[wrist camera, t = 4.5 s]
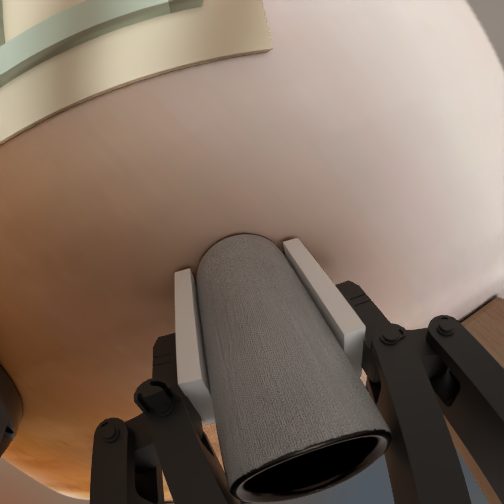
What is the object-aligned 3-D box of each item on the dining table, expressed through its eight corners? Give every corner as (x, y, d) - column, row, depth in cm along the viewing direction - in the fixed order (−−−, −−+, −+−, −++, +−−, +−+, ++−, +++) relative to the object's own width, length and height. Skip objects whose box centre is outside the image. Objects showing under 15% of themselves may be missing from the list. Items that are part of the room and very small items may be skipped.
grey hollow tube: (195, 313, 16) (226, 511, 7) (196, 232, 14) (235, 459, 5) (279, 309, 17) (358, 481, 8) (292, 233, 15) (422, 410, 6)
